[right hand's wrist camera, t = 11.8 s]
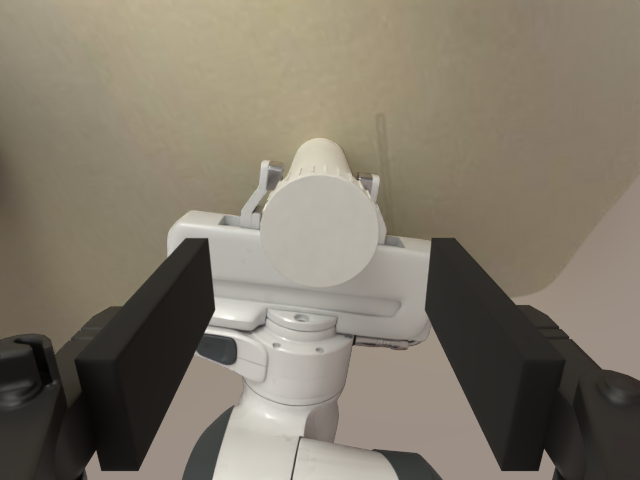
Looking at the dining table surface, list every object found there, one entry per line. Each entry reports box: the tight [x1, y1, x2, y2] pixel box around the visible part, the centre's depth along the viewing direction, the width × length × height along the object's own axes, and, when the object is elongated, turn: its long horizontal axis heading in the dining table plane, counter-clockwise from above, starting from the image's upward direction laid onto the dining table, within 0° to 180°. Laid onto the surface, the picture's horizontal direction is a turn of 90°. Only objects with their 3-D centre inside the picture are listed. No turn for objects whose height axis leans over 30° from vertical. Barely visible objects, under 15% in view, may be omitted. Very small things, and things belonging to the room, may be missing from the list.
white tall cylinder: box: [288, 138, 353, 176], centre depth 27 cm, size 4×4×18 cm
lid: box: [260, 165, 380, 287], centre depth 19 cm, size 5×5×2 cm
